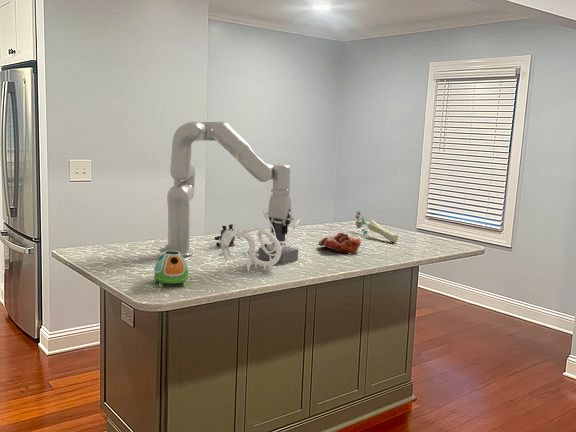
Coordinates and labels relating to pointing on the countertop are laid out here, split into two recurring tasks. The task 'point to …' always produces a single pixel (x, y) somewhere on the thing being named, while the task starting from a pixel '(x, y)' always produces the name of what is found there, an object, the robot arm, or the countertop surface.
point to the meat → (341, 243)
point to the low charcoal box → (286, 254)
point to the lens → (279, 229)
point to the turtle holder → (171, 268)
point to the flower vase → (375, 228)
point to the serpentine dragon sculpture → (253, 244)
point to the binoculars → (225, 232)
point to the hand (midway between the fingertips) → (279, 232)
